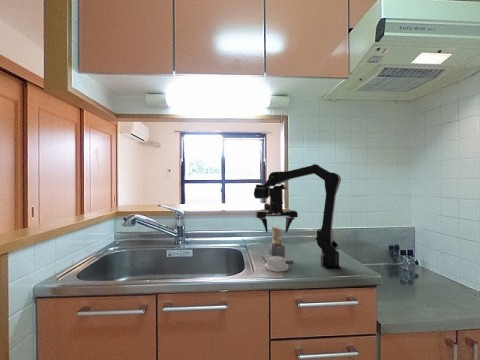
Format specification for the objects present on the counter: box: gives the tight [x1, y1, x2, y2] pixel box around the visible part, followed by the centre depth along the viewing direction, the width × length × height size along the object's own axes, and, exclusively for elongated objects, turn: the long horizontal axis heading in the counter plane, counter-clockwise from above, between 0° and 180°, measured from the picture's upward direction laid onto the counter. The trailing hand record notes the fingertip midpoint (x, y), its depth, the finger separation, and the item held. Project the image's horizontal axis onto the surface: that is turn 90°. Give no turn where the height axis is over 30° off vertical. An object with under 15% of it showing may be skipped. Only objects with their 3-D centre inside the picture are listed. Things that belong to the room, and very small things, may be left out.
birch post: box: [271, 226, 283, 246], centre depth 127 cm, size 4×4×10 cm
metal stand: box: [261, 242, 294, 264], centre depth 126 cm, size 12×12×7 cm
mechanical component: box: [264, 256, 289, 273], centre depth 114 cm, size 10×4×10 cm
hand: (276, 232), depth 127 cm, fingers open, 9 cm apart
